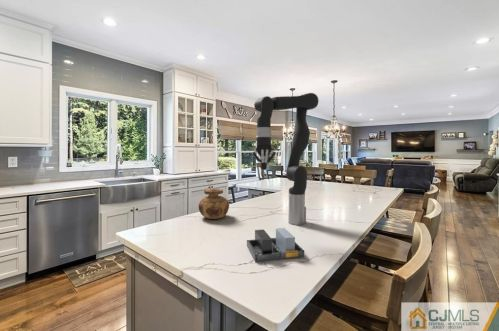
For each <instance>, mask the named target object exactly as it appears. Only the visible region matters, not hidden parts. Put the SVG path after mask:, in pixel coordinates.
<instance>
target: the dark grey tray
mask: <svg viewBox="0 0 499 331" xmlns="http://www.w3.org/2000/svg"><path fill="white" fill-rule="evenodd" d="M246 247H247V249H248V251H249V253H250V255H251V257H252V259H253V261H254V262H255V263H260V262H269V261H270V262H271V261H281V260H289V259H298V258H299V259H301V258H305V250H304V249H303V248H302V246H300V245H299V244H298V243H297V242H296V241H295V250H293V251H285V252H282V251H281V250H280V248H279V247H278V246H277V245H276V237H270V235H269V234H268V233H267V231H265V229H263V228H262V229H255V230H254V239H248V240H246Z"/></svg>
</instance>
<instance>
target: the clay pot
mask: <svg viewBox="0 0 499 331" xmlns="http://www.w3.org/2000/svg"><path fill="white" fill-rule="evenodd" d="M203 191H204V192H203V193H204V194H205V195H207V196H205V197H203V198H202V199H201V200H199V203H198V210H199V213H200V214H201V216H202V217H204V218H206V219H208V220H218V219H219V220H220V219H222V218H223V217H225V216H226V215H227V214H228V212H229V210H230V201H229V199H227V198H226V197H224V196H221V195H222V194H224V189H222V188H216V187H215V188H213V187H212V188H210V187H209V188H206V189H204V190H203Z"/></svg>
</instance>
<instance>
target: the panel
mask: <svg viewBox="0 0 499 331" xmlns="http://www.w3.org/2000/svg"><path fill="white" fill-rule="evenodd" d="M275 238H276V245H277V246H278V247H279V248H280V250H281V251H282V252H285V251H293V250H295V242H296V237H295V236H294V235H293V234H291V232H290V231H288V230H287V228H285V227H278V228H275Z"/></svg>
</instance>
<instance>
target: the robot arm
mask: <svg viewBox="0 0 499 331" xmlns="http://www.w3.org/2000/svg"><path fill="white" fill-rule="evenodd" d="M253 105H254V106H253V107H254V108H255V110H256V112H259V113H260V115H259V116H258V117H257V119H256V147H255V150H253V151H252V152H251V155H252V156H253V158H254V159H255V160H256V161H257V162H259V163H260V169H261V170H262V171H266V170H267V169H268V166H267V164H268V163H269V162H271V161H272V159H274V156H276V154H277V153H276V151H274V150H273V148H272V130H271V129H272V128H271V127H272V126H271V119H272V115H273V111H284V110H292V109H296V112H295V123H294V128H293V129H294V130H293V134H292V141H291V142H292V144H291V150H290V154H289V159H288V163H287V166H286V171H285V172H286V174H285V175H286V178H287V180H288V181H291V182H293V186H291V187H289V188H288V223H289V224H290V225H293V226H294V225H295V226H298V225H299V226H302V225H304V224H307V206H305V204H306V190H307V185H308V184H307V183H308V172H307V168H306V167H305V166H302V165H300V160H301V157H302V156H303V154H304V153H305V151H306V149H307V148H308V147H309V146H308V145H309V141H310V135H311V132H310V128H309V126H308V125H309V124H308V123H307V113H308V111H309V110H314V109H315V108H317V106H318V105H319V97H318V95H317V94H316V93H314V92H308V93H304V94H301V95H294V96H293V95H291V96H289V95H287V96H274V97H270V96H268V95H267V96H263V97H259V98H257V99H256V100H255V101H254V104H253Z"/></svg>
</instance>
